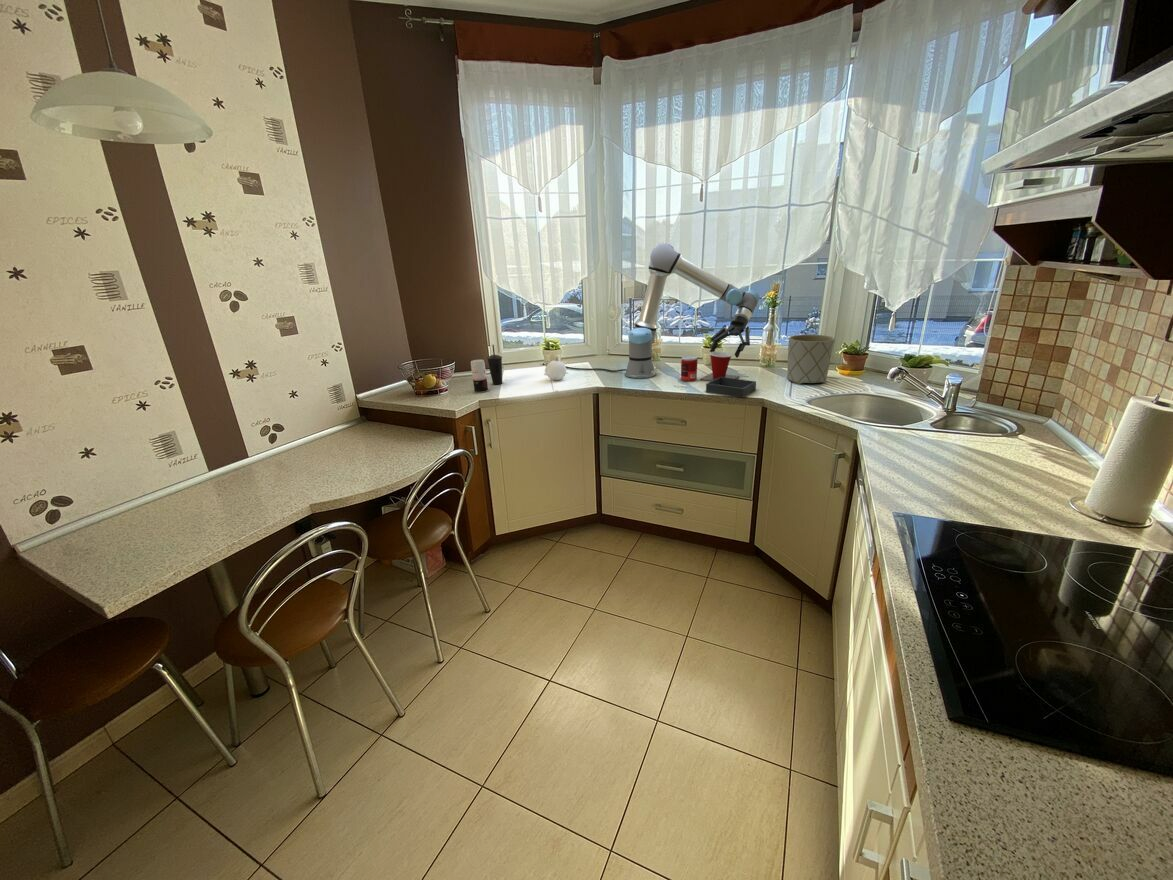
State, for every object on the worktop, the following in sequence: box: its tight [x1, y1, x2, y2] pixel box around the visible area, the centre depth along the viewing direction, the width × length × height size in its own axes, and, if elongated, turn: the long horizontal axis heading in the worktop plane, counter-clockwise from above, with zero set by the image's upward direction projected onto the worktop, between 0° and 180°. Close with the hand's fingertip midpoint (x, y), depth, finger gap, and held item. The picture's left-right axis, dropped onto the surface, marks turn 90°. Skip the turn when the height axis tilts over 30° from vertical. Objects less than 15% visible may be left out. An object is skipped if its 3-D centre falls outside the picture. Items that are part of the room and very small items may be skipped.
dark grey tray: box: [705, 377, 757, 399], centre depth 213 cm, size 17×14×4 cm
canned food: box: [680, 355, 698, 382], centre depth 234 cm, size 8×8×11 cm
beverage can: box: [470, 359, 489, 394], centre depth 231 cm, size 6×6×15 cm
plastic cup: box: [709, 351, 733, 379], centre depth 232 cm, size 11×11×12 cm
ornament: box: [545, 356, 567, 381], centre depth 245 cm, size 10×10×12 cm
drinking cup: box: [486, 344, 503, 386], centre depth 242 cm, size 8×8×20 cm
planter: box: [786, 334, 836, 385], centre depth 220 cm, size 19×19×20 cm
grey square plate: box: [699, 372, 740, 382], centre depth 235 cm, size 14×14×1 cm
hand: (723, 354), depth 232 cm, fingers open, 13 cm apart
